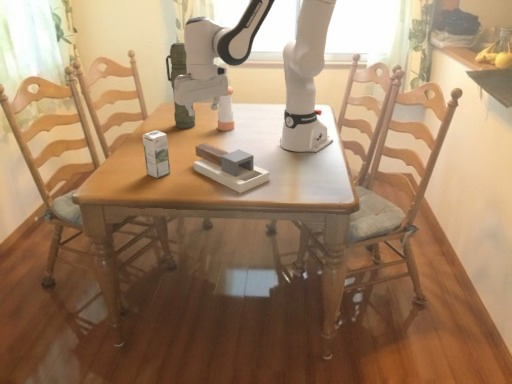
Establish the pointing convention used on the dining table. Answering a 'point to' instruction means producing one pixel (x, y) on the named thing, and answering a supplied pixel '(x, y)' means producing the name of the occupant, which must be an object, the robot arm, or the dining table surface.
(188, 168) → the dining table surface
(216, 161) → the bar
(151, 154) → the syrup box
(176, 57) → the thermos
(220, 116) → the pepper shaker
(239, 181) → the board
